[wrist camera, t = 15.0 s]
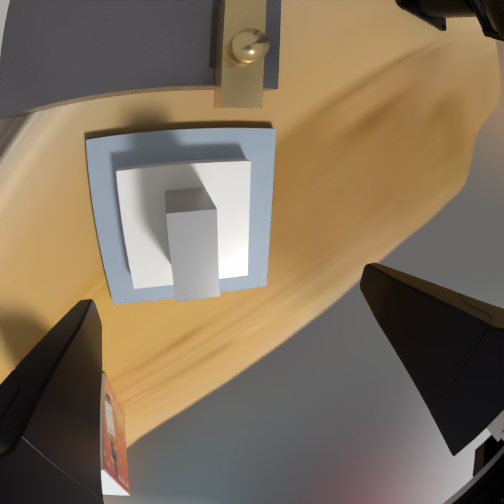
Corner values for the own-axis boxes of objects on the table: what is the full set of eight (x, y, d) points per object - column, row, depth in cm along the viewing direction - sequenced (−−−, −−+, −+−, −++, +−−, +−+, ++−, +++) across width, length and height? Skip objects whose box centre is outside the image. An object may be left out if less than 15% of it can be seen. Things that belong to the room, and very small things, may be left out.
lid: (245, 157, 18) (275, 175, 14) (243, 266, 22) (266, 309, 17) (118, 167, 16) (103, 189, 12) (134, 279, 20) (131, 328, 15)
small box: (125, 414, 27) (132, 496, 18) (81, 414, 25) (80, 493, 16) (106, 370, 23) (105, 470, 15) (55, 370, 22) (43, 464, 13)
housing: (265, -43, 12) (282, -61, 9) (260, 91, 17) (278, 88, 14) (36, -24, 7) (21, -39, 5) (19, 116, 12) (-3, 119, 10)
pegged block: (255, 9, 11) (275, -8, 9) (251, 108, 14) (270, 108, 12) (218, 6, 11) (231, -14, 8) (214, 107, 14) (225, 106, 11)
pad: (273, 128, 18) (276, 128, 18) (264, 282, 24) (266, 286, 23) (87, 139, 15) (85, 139, 14) (114, 300, 20) (113, 304, 20)
